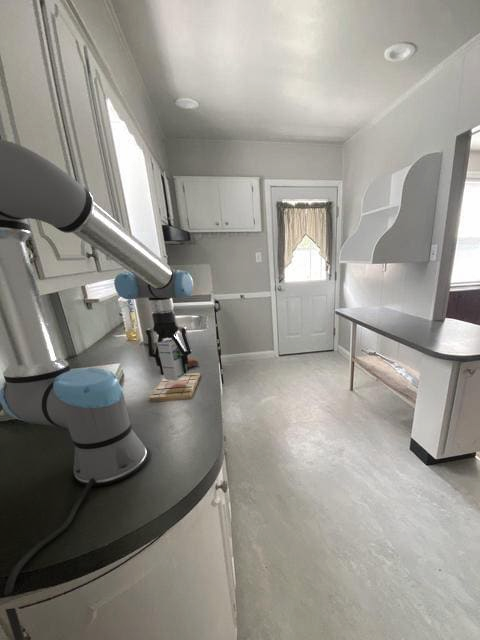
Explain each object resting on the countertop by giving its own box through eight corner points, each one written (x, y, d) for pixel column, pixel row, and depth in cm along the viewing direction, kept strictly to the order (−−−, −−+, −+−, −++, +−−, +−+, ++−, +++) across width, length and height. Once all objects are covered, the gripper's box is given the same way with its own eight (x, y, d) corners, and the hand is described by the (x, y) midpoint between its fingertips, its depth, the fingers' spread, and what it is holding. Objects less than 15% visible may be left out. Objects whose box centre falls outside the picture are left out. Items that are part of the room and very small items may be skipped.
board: (190, 398, 107) (190, 394, 106) (150, 401, 106) (149, 397, 105) (200, 376, 127) (199, 372, 127) (165, 378, 126) (165, 375, 125)
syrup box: (177, 381, 112) (170, 342, 106) (164, 379, 113) (156, 341, 108) (186, 375, 117) (180, 338, 111) (174, 374, 118) (167, 337, 113)
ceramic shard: (149, 358, 135) (177, 354, 148) (151, 372, 136) (179, 367, 149) (170, 358, 127) (198, 354, 140) (172, 373, 129) (199, 368, 141)
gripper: (194, 308, 110) (203, 367, 119) (136, 311, 108) (149, 371, 117) (190, 311, 103) (200, 374, 112) (128, 315, 101) (143, 378, 110)
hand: (174, 372), depth 114 cm, fingers closed on syrup box, 7 cm apart
